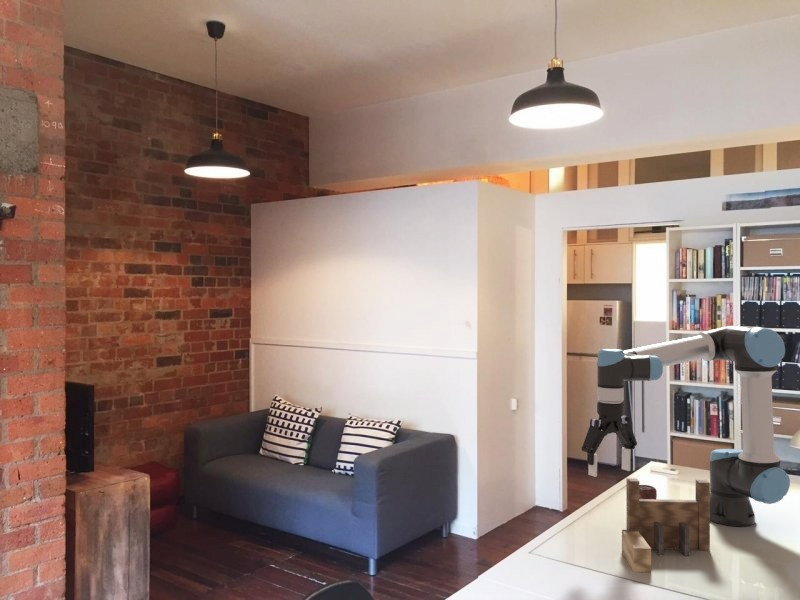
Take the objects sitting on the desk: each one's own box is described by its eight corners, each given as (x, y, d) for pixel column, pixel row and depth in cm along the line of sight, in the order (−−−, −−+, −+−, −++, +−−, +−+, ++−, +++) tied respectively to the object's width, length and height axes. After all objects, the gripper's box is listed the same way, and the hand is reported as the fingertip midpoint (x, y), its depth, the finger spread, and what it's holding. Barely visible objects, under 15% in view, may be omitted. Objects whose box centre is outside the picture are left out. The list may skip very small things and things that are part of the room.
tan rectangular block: (638, 553, 193) (638, 529, 193) (651, 572, 180) (651, 547, 180) (621, 552, 194) (621, 529, 194) (633, 571, 181) (633, 547, 180)
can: (658, 535, 207) (658, 490, 207) (636, 533, 209) (636, 489, 208) (654, 528, 213) (654, 484, 213) (633, 526, 215) (633, 483, 214)
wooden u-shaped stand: (706, 546, 198) (706, 479, 197) (715, 556, 190) (715, 487, 190) (626, 544, 200) (626, 478, 199) (633, 554, 192) (632, 485, 192)
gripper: (630, 396, 207) (629, 464, 207) (569, 402, 195) (568, 474, 195) (649, 400, 200) (649, 470, 200) (588, 406, 188) (587, 481, 188)
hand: (609, 472), depth 198 cm, fingers open, 13 cm apart
